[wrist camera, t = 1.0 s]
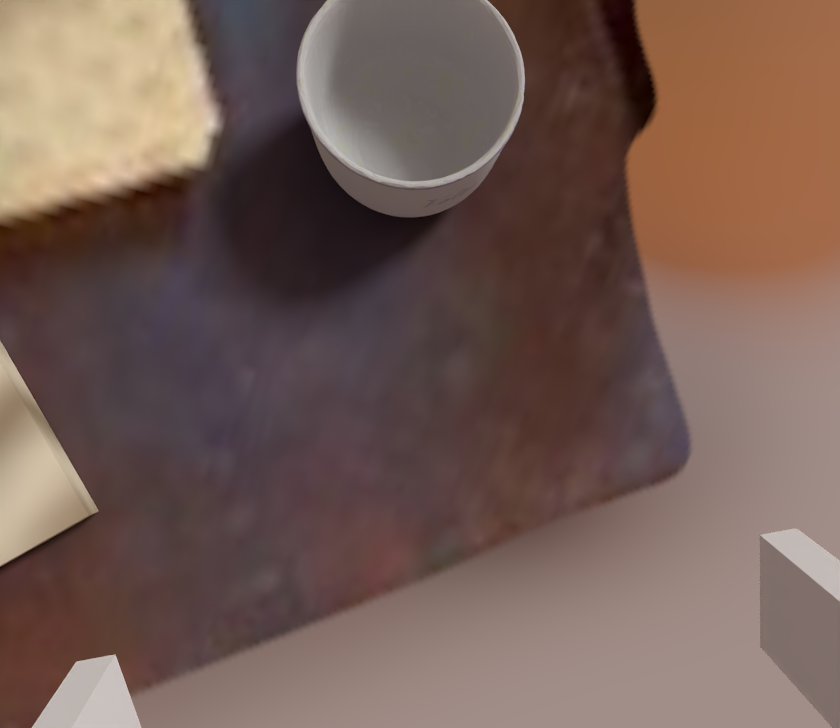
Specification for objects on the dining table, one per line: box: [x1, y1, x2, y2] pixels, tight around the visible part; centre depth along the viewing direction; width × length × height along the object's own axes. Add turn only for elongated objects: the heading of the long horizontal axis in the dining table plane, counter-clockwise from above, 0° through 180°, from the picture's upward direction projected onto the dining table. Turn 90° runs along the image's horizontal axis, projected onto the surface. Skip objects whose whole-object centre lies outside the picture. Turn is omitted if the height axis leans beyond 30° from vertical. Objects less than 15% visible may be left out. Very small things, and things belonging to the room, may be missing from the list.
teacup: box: [296, 0, 525, 217], centre depth 31 cm, size 14×11×8 cm
